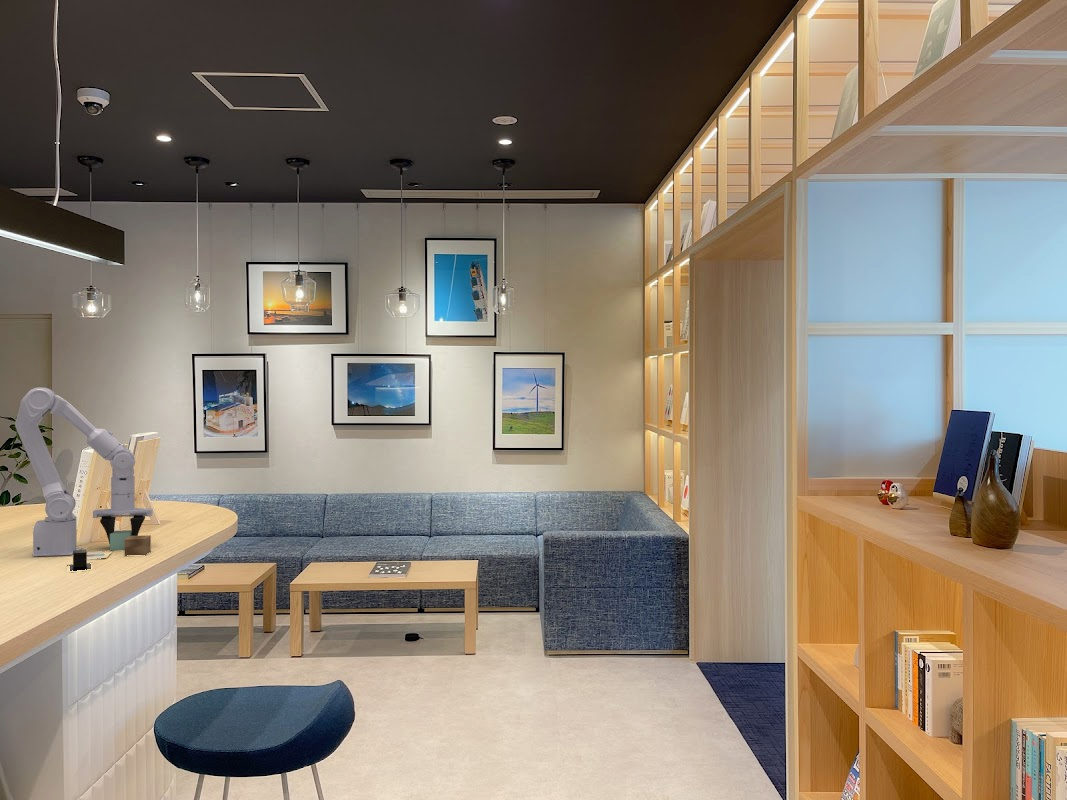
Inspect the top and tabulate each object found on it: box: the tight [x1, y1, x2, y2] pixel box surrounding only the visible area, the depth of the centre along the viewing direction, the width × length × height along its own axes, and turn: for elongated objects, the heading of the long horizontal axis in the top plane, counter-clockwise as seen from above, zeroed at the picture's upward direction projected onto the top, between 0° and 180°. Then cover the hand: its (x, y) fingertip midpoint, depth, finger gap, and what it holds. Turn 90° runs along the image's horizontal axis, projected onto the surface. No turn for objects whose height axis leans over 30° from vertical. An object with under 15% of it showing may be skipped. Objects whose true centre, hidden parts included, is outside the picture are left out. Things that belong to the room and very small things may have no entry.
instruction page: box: [87, 550, 109, 561], centre depth 204 cm, size 7×10×1 cm
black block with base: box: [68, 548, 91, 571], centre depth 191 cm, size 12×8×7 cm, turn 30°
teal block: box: [109, 529, 132, 551], centre depth 214 cm, size 5×5×4 cm
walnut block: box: [124, 535, 152, 557], centre depth 207 cm, size 5×5×4 cm
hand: (122, 543), depth 214 cm, fingers closed on teal block, 5 cm apart
